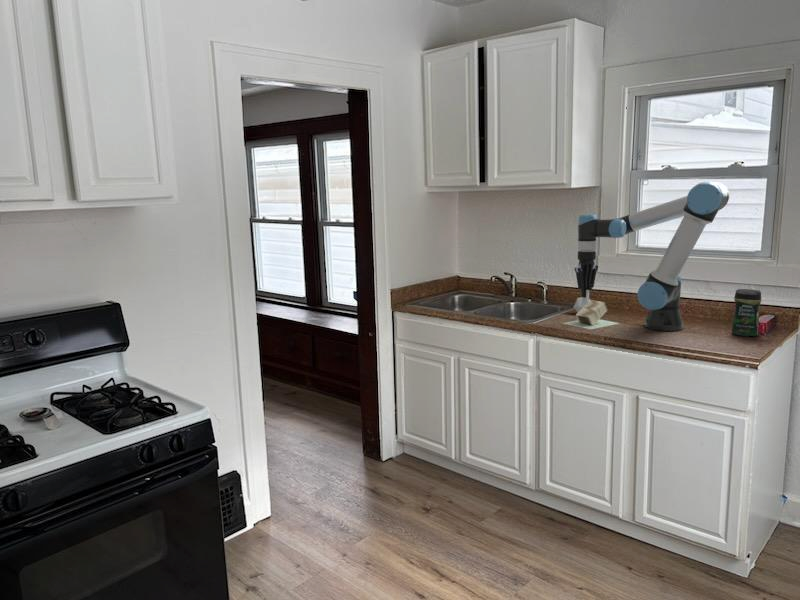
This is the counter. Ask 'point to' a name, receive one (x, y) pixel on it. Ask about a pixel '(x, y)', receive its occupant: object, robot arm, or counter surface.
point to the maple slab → (591, 312)
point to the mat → (597, 325)
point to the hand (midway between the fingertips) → (585, 304)
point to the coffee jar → (746, 312)
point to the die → (578, 304)
